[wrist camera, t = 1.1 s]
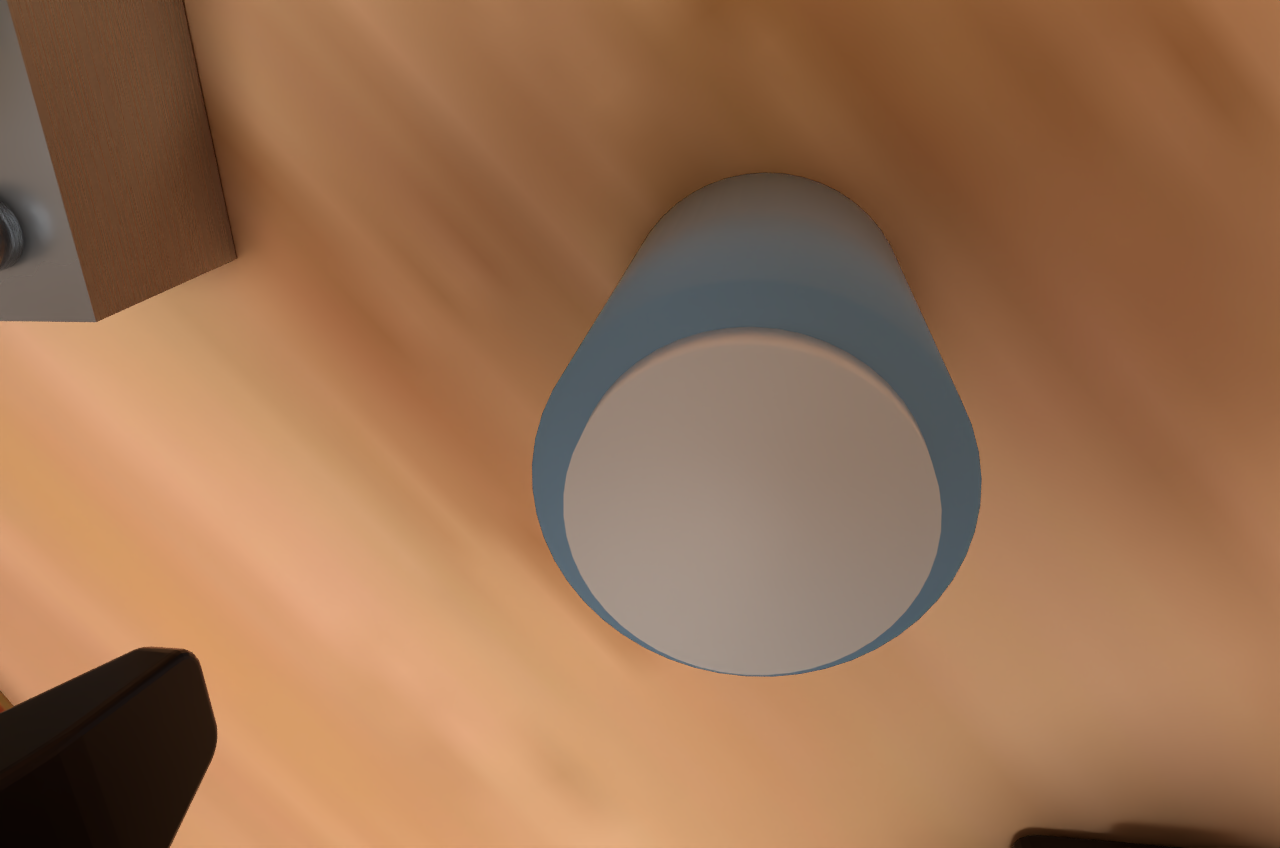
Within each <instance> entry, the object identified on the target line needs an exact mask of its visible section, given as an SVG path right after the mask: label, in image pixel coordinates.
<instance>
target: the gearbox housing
mask: <svg viewBox="0 0 1280 848" xmlns="http://www.w3.org/2000/svg"><path fill="white" fill-rule="evenodd" d="M235 259H236V254H235V250H234V245H233V240H232V235H231V230H230V226H229V221H228V216H227V211H226V207H225V202H224V197H223V192H222V187H221V183H220V178H219V173H218V168H217V164H216V159H215V154H214V149H213V144H212V140H211V135H210V130H209V125H208V121H207V116H206V111H205V106H204V101H203V97H202V92H201V87H200V82H199V78H198V73H197V68H196V63H195V58H194V54H193V49H192V44H191V39H190V35H189V30H188V25H187V20H186V15H185V11H184V6H183V1H182V0H0V321H52V322H98V321H100V320H102V319H104V318H106V317H109V316H111V315H113V314H115V313H118V312H120V311H122V310H124V309H126V308H129V307H131V306H133V305H135V304H137V303H140V302H142V301H144V300H146V299H149V298H151V297H153V296H155V295H157V294H160V293H162V292H164V291H166V290H169V289H171V288H173V287H175V286H177V285H180V284H182V283H184V282H186V281H189V280H191V279H193V278H195V277H197V276H200V275H202V274H204V273H206V272H209V271H211V270H213V269H215V268H217V267H220V266H222V265H224V264H226V263H229V262H231V261H233V260H235Z"/></svg>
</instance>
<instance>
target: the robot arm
mask: <svg viewBox="0 0 1280 848" xmlns="http://www.w3.org/2000/svg"><path fill="white" fill-rule="evenodd" d="M216 743H217V725H216V721H215V717H214V713H213V709H212V706H211V702H210V698H209V694H208V691H207V687H206V683H205V680H204V676H203V672H202V668H201V665H200V662H199V660H198V659H197V657H196V656H195V655H194V654H193V653H192V652H190V651H188V650H185V649H177V648H163V647H142V648H138V649H135V650H133V651H131V652H129V653H127V654H124V655H122V656H120V657H118V658H116V659H114V660H112V661H110V662H107V663H105V664H103V665H101V666H99V667H97V668H95V669H92V670H90V671H88V672H86V673H84V674H82V675H80V676H78V677H75V678H73V679H71V680H69V681H67V682H65V683H63V684H61V685H58V686H56V687H54V688H52V689H50V690H48V691H46V692H43V693H41V694H39V695H37V696H35V697H33V698H31V699H29V700H26V701H24V702H22V703H20V704H18V705H16V706H14V707H12V708H9V709H7V710H5V711H3V712H1V713H0V848H170V846H171V844H172V842H173V840H174V838H175V836H176V833H177V831H178V829H179V827H180V825H181V823H182V821H183V819H184V817H185V815H186V813H187V811H188V809H189V806H190V804H191V802H192V800H193V798H194V796H195V794H196V792H197V790H198V788H199V786H200V784H201V781H202V779H203V777H204V775H205V773H206V771H207V769H208V767H209V765H210V763H211V760H212V758H213V755H214V752H215V748H216ZM1012 848H1181V847H1169V846H1158V845H1146V844H1134V843H1123V842H1111V841H1099V840H1088V839H1076V838H1064V837H1053V836H1041V835H1031V836H1026V837H1023V838H1020V839H1019V840H1017V841H1016V842H1015V843H1014V844H1013V846H1012Z"/></svg>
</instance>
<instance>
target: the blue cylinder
mask: <svg viewBox="0 0 1280 848" xmlns="http://www.w3.org/2000/svg"><path fill="white" fill-rule="evenodd" d="M981 480H982V479H981V469H980V459H979V451H978V447H977V443H976V439H975V436H974V432H973V428H972V424H971V422H970V420H969V417H968V415H967V413H966V410H965V408H964V406H963V404H962V401H961V399H960V397H959V394H958V392H957V390H956V388H955V386H954V384H953V381H952V379H951V377H950V375H949V373H948V370H947V368H946V366H945V364H944V362H943V359H942V357H941V355H940V353H939V351H938V349H937V346H936V344H935V342H934V340H933V338H932V335H931V333H930V331H929V329H928V327H927V324H926V322H925V320H924V318H923V316H922V314H921V311H920V309H919V307H918V305H917V303H916V300H915V298H914V296H913V294H912V292H911V289H910V287H909V285H908V283H907V281H906V278H905V276H904V274H903V272H902V270H901V268H900V265H899V263H898V261H897V259H896V257H895V254H894V252H893V250H892V248H891V246H890V244H889V242H888V241H887V239H886V238H885V236H884V234H883V233H882V231H881V230H880V228H879V227H878V226H877V225H876V224H875V222H874V221H873V220H872V219H871V217H870V216H869V215H868V214H867V213H866V212H864V211H863V210H862V209H861V208H860V207H859V206H858V205H857V204H856V203H854V202H853V201H851V200H850V199H849V198H847V197H846V196H844V195H843V194H841V193H840V192H838V191H836V190H834V189H832V188H830V187H828V186H826V185H824V184H822V183H819V182H816V181H813V180H810V179H807V178H804V177H799V176H794V175H789V174H780V173H754V174H744V175H740V176H735V177H730V178H726V179H723V180H721V181H718V182H715V183H712V184H709V185H707V186H705V187H703V188H701V189H699V190H697V191H696V192H694V193H692V194H690V195H689V196H687V197H686V198H685V199H683V200H682V201H680V202H679V203H677V204H676V205H675V206H674V207H673V208H672V209H671V210H669V211H668V212H667V213H666V214H665V215H664V216H663V217H662V218H661V219H660V221H659V222H658V223H657V224H656V225H655V226H654V228H653V229H652V230H651V232H650V233H649V235H648V236H647V238H646V239H645V241H644V243H643V244H642V246H641V247H640V249H639V251H638V252H637V254H636V255H635V257H634V259H633V260H632V262H631V264H630V265H629V267H628V268H627V270H626V272H625V273H624V275H623V277H622V278H621V280H620V281H619V283H618V285H617V286H616V288H615V290H614V291H613V293H612V295H611V296H610V298H609V299H608V301H607V303H606V304H605V306H604V308H603V309H602V311H601V312H600V314H599V316H598V317H597V319H596V321H595V322H594V324H593V325H592V327H591V329H590V330H589V332H588V334H587V335H586V337H585V338H584V340H583V342H582V343H581V345H580V347H579V348H578V350H577V351H576V353H575V355H574V356H573V358H572V360H571V361H570V363H569V365H568V366H567V368H566V369H565V371H564V373H563V374H562V376H561V378H560V379H559V381H558V382H557V384H556V386H555V387H554V389H553V391H552V393H551V395H550V398H549V400H548V402H547V404H546V407H545V409H544V411H543V413H542V417H541V420H540V424H539V427H538V431H537V435H536V438H535V446H534V453H533V461H532V481H533V494H534V500H535V507H536V513H537V516H538V520H539V523H540V526H541V530H542V533H543V536H544V539H545V541H546V543H547V545H548V547H549V550H550V552H551V554H552V556H553V558H554V560H555V562H556V563H557V565H558V567H559V568H560V570H561V571H562V573H563V575H564V576H565V578H566V579H567V581H568V582H569V584H570V585H571V586H572V587H573V588H574V590H575V591H576V592H577V593H578V595H579V596H580V597H581V598H582V600H583V601H584V602H585V603H586V604H587V605H588V606H589V607H590V608H591V609H592V610H594V611H595V612H596V613H597V614H598V615H599V616H600V617H601V618H602V619H603V620H604V621H606V622H607V623H608V624H610V625H611V626H612V627H614V628H615V629H616V630H617V631H619V632H620V633H621V634H623V635H624V636H626V637H628V638H629V639H631V640H633V641H634V642H636V643H638V644H639V645H641V646H643V647H644V648H646V649H649V650H651V651H653V652H655V653H657V654H659V655H661V656H664V657H666V658H668V659H671V660H674V661H677V662H680V663H683V664H685V665H688V666H691V667H695V668H699V669H704V670H708V671H712V672H717V673H723V674H732V675H740V676H772V677H773V676H783V675H794V674H802V673H807V672H812V671H817V670H821V669H826V668H829V667H832V666H835V665H838V664H842V663H845V662H848V661H851V660H853V659H855V658H858V657H860V656H862V655H864V654H866V653H869V652H871V651H873V650H875V649H877V648H879V647H880V646H882V645H884V644H885V643H887V642H888V641H890V640H892V639H893V638H895V637H897V636H898V635H900V634H901V633H902V632H903V631H905V630H906V629H907V628H908V627H910V626H911V625H912V624H914V623H915V622H916V621H917V620H919V619H920V618H921V617H922V616H923V615H924V614H925V613H926V612H927V610H928V609H929V608H930V607H931V606H932V605H933V604H934V603H935V602H936V601H937V600H938V599H939V598H940V596H941V595H942V593H943V592H944V591H945V589H946V588H947V587H948V585H949V584H950V583H951V581H952V580H953V578H954V577H955V575H956V573H957V571H958V569H959V568H960V566H961V564H962V562H963V560H964V558H965V557H966V554H967V551H968V548H969V546H970V543H971V540H972V538H973V535H974V532H975V528H976V523H977V518H978V514H979V509H980V499H981Z"/></svg>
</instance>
